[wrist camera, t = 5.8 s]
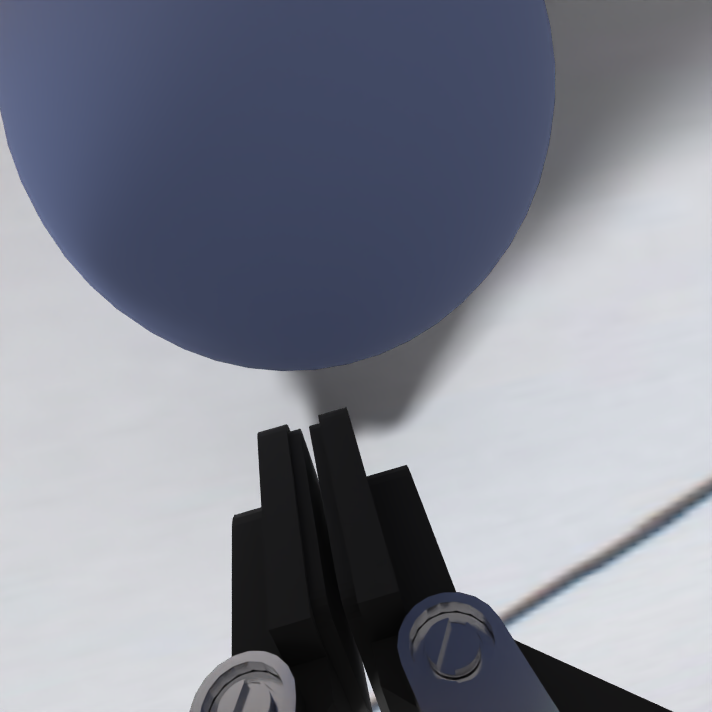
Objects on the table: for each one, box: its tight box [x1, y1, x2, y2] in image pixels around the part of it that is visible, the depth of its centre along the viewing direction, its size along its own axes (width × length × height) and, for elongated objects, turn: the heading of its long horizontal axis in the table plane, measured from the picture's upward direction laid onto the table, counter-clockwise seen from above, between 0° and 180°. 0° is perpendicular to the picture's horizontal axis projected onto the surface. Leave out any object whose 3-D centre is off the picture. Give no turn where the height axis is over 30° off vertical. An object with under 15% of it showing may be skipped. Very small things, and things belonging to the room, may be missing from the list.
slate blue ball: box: [0, 0, 555, 371], centre depth 6 cm, size 6×6×6 cm
